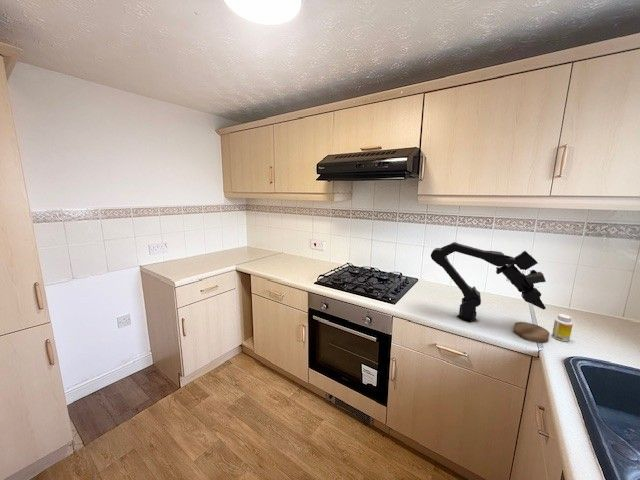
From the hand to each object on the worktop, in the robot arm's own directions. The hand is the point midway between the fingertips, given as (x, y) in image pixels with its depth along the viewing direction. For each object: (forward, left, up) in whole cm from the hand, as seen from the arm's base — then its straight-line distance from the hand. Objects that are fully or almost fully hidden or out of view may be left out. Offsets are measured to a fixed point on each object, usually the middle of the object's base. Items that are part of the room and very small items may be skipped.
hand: (541, 304), depth 113 cm
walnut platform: (0, -5, -13) cm, 14 cm away
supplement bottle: (+7, +4, -14) cm, 16 cm away
